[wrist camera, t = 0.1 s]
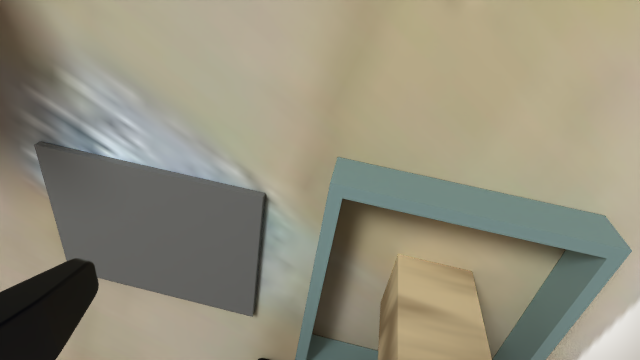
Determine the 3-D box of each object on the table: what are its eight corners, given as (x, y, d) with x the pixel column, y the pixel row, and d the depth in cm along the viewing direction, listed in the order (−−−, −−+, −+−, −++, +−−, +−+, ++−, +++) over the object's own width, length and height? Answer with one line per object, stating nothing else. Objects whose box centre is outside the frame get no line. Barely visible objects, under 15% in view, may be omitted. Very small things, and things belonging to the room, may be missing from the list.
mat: (254, 311, 32) (252, 316, 31) (73, 266, 33) (69, 270, 32) (265, 193, 25) (263, 197, 25) (40, 141, 26) (34, 144, 26)
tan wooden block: (447, 319, 28) (462, 434, 22) (380, 302, 29) (375, 411, 22) (471, 271, 26) (497, 386, 19) (398, 253, 26) (397, 360, 19)
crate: (487, 385, 31) (494, 423, 29) (301, 337, 32) (292, 370, 30) (605, 215, 22) (632, 250, 19) (337, 157, 23) (330, 182, 20)
